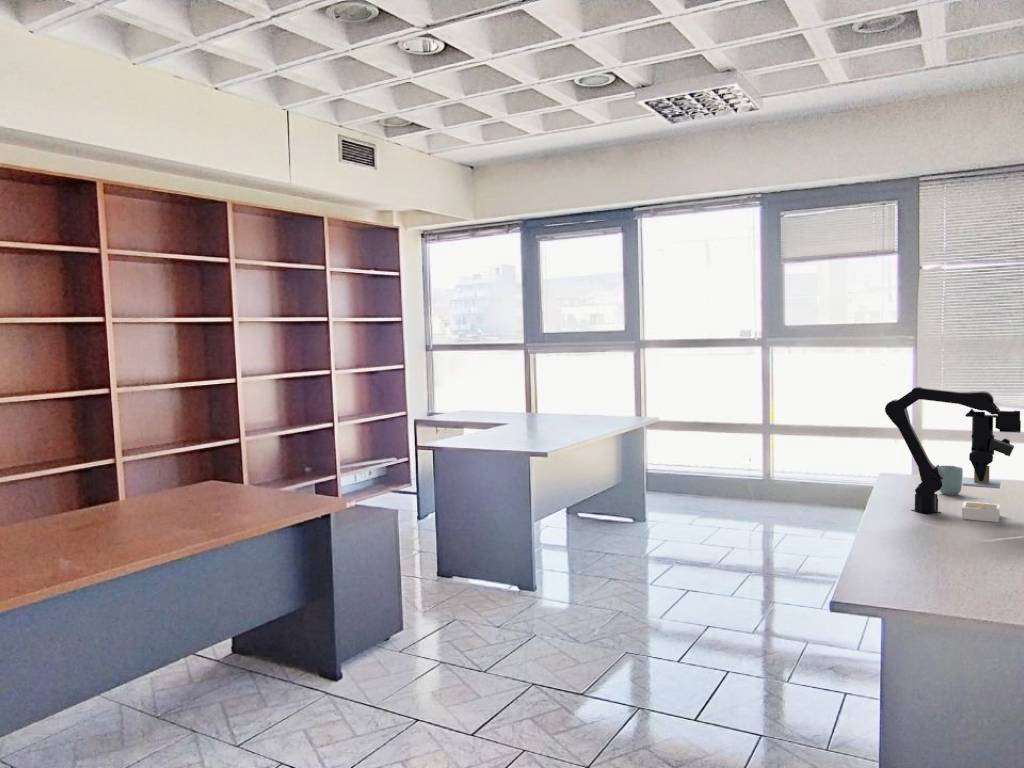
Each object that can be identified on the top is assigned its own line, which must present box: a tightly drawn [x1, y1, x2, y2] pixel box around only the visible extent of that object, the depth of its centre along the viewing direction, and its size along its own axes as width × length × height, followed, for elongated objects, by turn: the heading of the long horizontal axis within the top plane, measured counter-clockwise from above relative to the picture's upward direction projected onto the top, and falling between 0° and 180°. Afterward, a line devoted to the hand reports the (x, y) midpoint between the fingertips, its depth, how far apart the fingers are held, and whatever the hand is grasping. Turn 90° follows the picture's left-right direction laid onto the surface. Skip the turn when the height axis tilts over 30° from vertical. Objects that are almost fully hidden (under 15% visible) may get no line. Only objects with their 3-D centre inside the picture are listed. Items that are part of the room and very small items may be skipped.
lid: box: [962, 465, 1001, 489], centre depth 249 cm, size 10×10×6 cm
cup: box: [939, 465, 963, 496], centre depth 286 cm, size 8×8×10 cm
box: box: [961, 501, 1001, 523], centre depth 250 cm, size 10×10×4 cm
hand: (981, 479), depth 249 cm, fingers closed on lid, 4 cm apart
